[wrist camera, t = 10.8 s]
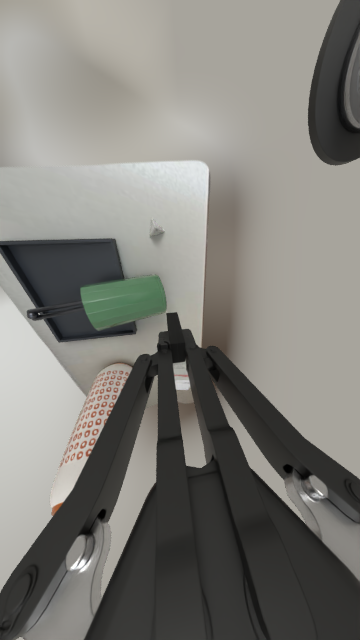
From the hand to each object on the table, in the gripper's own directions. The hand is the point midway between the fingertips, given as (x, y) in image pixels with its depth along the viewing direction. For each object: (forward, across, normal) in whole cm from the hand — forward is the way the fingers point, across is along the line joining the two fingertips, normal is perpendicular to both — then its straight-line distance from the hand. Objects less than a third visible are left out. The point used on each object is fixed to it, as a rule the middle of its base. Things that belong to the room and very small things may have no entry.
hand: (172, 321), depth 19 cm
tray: (+17, -20, -1) cm, 26 cm away
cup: (+13, -2, 0) cm, 13 cm away
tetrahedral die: (+18, -1, +12) cm, 22 cm away
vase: (+17, -18, -29) cm, 39 cm away
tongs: (+12, -16, -1) cm, 20 cm away
